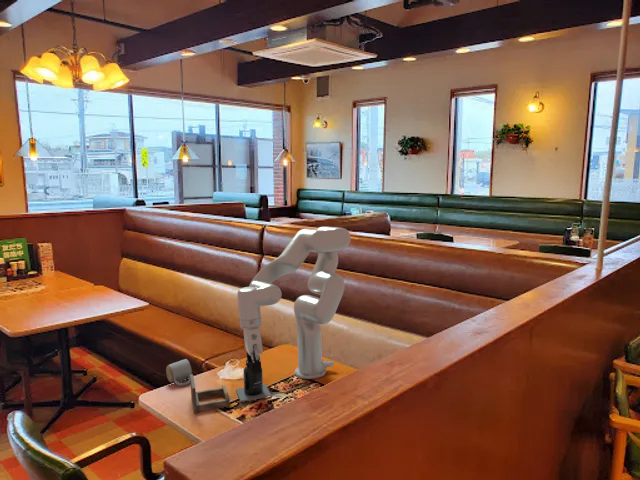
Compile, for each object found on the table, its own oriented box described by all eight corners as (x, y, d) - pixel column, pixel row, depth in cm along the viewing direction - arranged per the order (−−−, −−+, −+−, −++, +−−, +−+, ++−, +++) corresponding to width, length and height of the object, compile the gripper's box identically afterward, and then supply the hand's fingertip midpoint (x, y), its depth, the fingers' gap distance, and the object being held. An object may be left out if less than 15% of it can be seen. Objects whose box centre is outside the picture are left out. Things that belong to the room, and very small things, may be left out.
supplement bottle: (259, 396, 168) (258, 364, 166) (241, 395, 169) (239, 363, 168) (265, 388, 174) (264, 357, 173) (248, 387, 176) (246, 356, 174)
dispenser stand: (225, 392, 173) (224, 369, 172) (230, 407, 162) (228, 382, 161) (191, 398, 169) (189, 374, 168) (193, 414, 158) (192, 388, 157)
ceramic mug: (165, 380, 186) (164, 361, 185) (185, 374, 191) (184, 356, 190) (175, 389, 178) (174, 370, 177) (196, 383, 183) (195, 364, 182)
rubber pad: (265, 386, 178) (265, 384, 178) (271, 397, 169) (271, 395, 169) (236, 391, 175) (236, 389, 174) (240, 402, 165) (240, 400, 165)
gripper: (266, 327, 161) (269, 374, 164) (256, 313, 178) (259, 356, 180) (244, 331, 159) (248, 378, 162) (236, 316, 175) (240, 360, 178)
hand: (254, 367), depth 171 cm, fingers open, 9 cm apart
